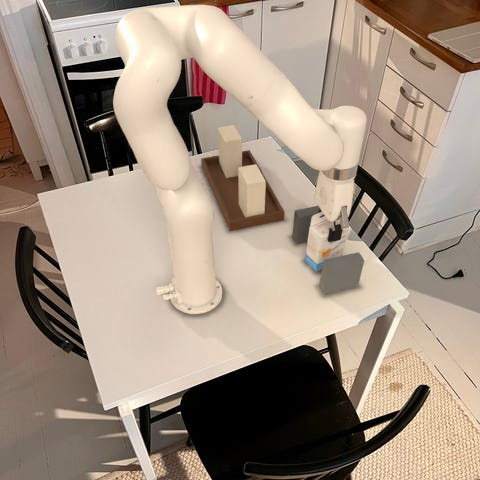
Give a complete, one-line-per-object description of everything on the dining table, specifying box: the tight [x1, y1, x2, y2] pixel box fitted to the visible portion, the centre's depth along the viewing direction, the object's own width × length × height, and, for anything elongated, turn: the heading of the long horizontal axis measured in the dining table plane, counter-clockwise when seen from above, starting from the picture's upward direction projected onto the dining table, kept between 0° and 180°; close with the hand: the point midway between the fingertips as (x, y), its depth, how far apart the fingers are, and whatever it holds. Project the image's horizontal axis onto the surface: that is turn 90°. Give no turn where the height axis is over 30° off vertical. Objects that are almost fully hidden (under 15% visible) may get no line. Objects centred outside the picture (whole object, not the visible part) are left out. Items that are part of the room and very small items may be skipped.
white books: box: [217, 124, 266, 218], centre depth 142 cm, size 5×29×12 cm, turn 17°
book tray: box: [200, 149, 285, 232], centre depth 146 cm, size 16×32×3 cm, turn 17°
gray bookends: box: [291, 205, 365, 296], centre depth 126 cm, size 9×22×9 cm, turn 17°
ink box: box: [304, 212, 349, 273], centre depth 123 cm, size 8×5×15 cm, turn 123°
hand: (328, 231), depth 121 cm, fingers closed on ink box, 6 cm apart
